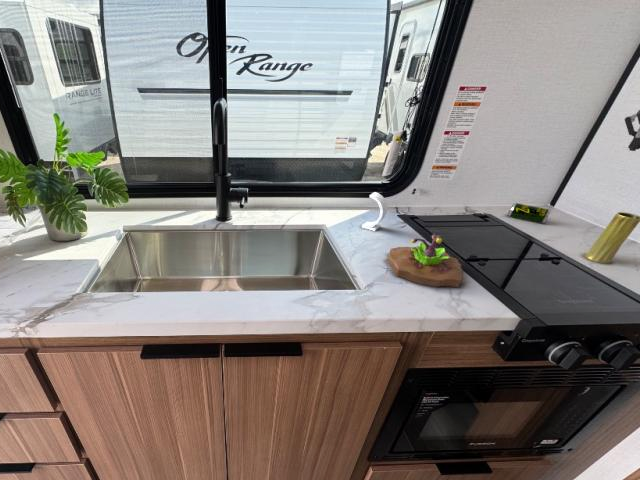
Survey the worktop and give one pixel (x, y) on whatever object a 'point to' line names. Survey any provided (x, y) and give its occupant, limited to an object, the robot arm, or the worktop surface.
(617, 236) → the vase
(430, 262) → the plant
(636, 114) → the robot arm
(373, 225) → the headphone stand
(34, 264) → the worktop surface
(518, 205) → the beer can
